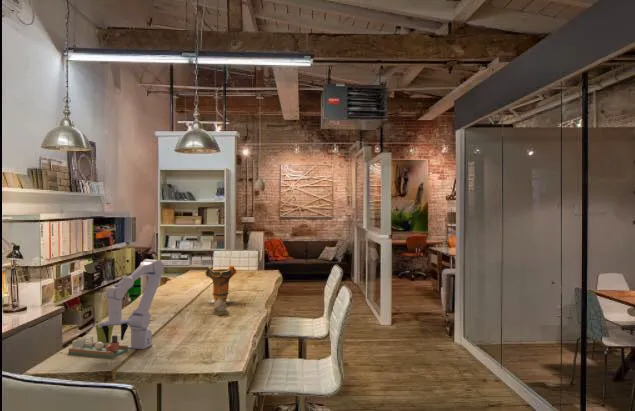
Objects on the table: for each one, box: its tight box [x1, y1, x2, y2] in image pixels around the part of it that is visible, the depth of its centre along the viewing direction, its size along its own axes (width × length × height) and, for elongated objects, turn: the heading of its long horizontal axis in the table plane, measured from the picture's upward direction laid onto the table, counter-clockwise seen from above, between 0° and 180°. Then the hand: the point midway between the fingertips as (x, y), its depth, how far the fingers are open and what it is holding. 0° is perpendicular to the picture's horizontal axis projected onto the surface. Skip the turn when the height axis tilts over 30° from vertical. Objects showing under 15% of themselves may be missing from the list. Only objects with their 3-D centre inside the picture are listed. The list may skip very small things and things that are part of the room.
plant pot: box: [94, 323, 115, 344], centre depth 254 cm, size 9×9×9 cm
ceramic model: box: [212, 298, 230, 316], centre depth 329 cm, size 14×11×10 cm
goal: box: [72, 336, 94, 349], centre depth 238 cm, size 5×8×5 cm, turn 166°
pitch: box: [68, 341, 129, 359], centre depth 236 cm, size 24×12×2 cm, turn 76°
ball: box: [95, 341, 105, 350], centre depth 236 cm, size 4×4×4 cm
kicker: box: [106, 334, 120, 352], centre depth 234 cm, size 4×6×7 cm, turn 166°
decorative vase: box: [205, 264, 237, 304], centre depth 370 cm, size 21×23×28 cm
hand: (114, 340), depth 234 cm, fingers open, 6 cm apart
